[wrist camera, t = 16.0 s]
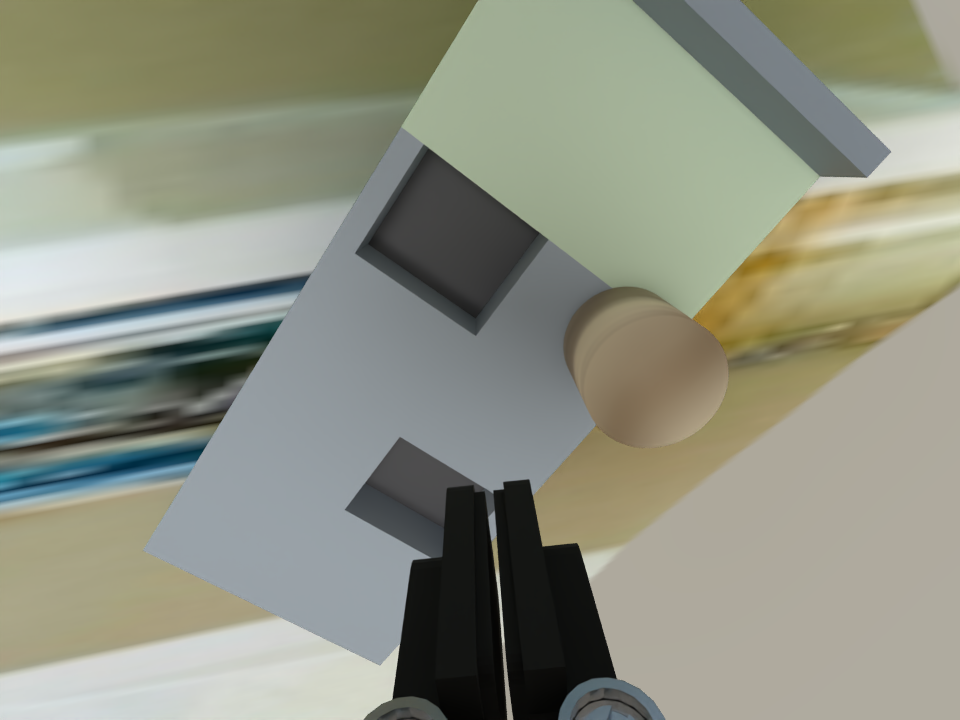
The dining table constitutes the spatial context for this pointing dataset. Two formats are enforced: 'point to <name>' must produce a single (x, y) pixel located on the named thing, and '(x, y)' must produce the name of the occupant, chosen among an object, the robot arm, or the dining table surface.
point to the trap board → (495, 288)
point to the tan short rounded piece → (644, 367)
